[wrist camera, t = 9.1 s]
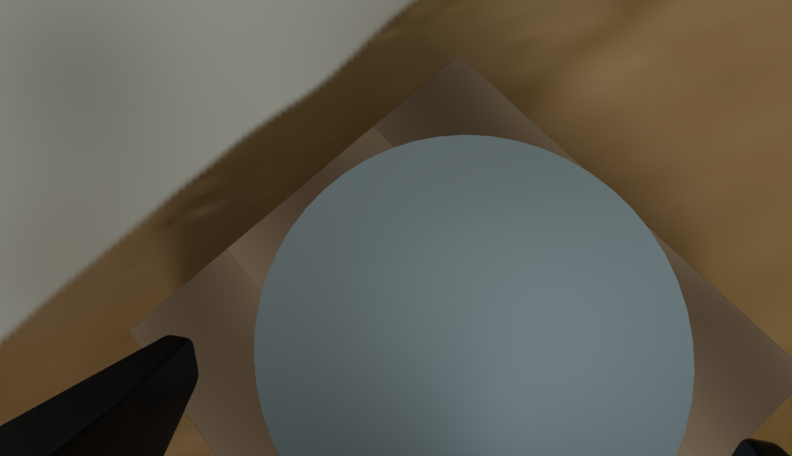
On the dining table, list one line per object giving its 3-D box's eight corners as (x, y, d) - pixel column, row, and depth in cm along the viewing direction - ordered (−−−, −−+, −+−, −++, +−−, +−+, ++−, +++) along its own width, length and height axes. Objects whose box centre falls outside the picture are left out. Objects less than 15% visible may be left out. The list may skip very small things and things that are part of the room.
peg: (488, 434, 18) (652, 661, 4) (370, 395, 18) (189, 488, 5) (517, 313, 19) (724, 188, 5) (404, 281, 19) (331, 97, 6)
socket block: (434, 671, 16) (432, 768, 12) (190, 336, 20) (128, 330, 16) (728, 371, 18) (810, 374, 14) (455, 110, 21) (458, 54, 17)
